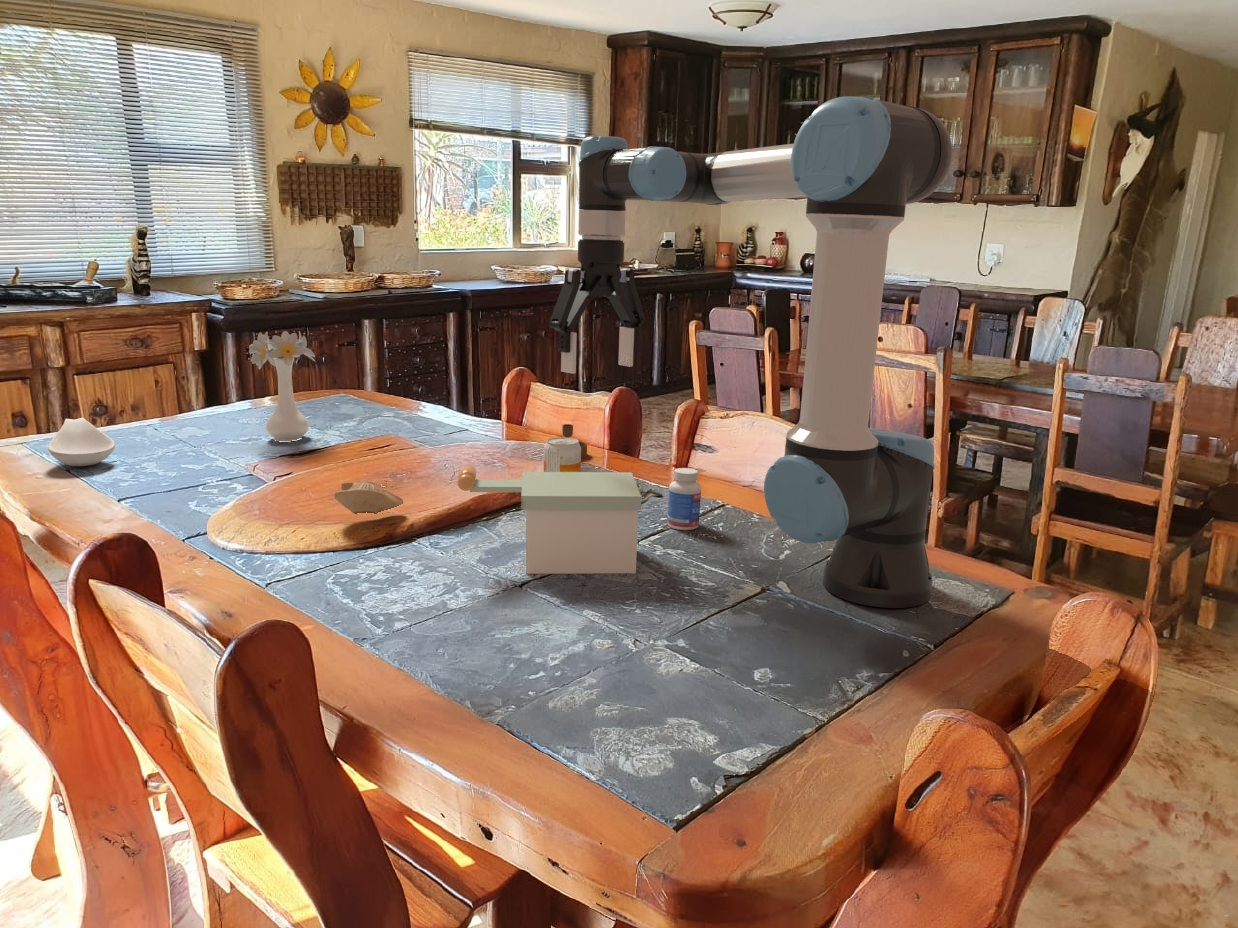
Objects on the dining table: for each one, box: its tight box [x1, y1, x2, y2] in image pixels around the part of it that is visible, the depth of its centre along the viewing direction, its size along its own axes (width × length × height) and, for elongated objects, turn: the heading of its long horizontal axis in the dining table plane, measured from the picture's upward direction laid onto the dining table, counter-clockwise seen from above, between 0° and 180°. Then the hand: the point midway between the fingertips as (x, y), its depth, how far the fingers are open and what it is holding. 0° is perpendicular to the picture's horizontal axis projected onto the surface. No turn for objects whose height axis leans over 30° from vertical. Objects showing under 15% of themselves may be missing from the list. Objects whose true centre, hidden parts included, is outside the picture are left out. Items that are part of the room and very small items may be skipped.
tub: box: [525, 510, 639, 575], centre depth 138 cm, size 16×12×11 cm
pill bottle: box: [667, 467, 702, 531], centre depth 156 cm, size 6×5×10 cm
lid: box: [456, 464, 642, 511], centre depth 136 cm, size 26×13×4 cm, turn 95°
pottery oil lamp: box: [333, 480, 404, 515], centre depth 156 cm, size 9×12×7 cm
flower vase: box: [248, 330, 316, 442], centre depth 206 cm, size 13×18×25 cm
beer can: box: [543, 436, 582, 472], centre depth 152 cm, size 6×6×15 cm
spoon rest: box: [47, 417, 116, 467], centre depth 190 cm, size 24×12×7 cm, turn 36°
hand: (597, 369), depth 154 cm, fingers open, 13 cm apart
